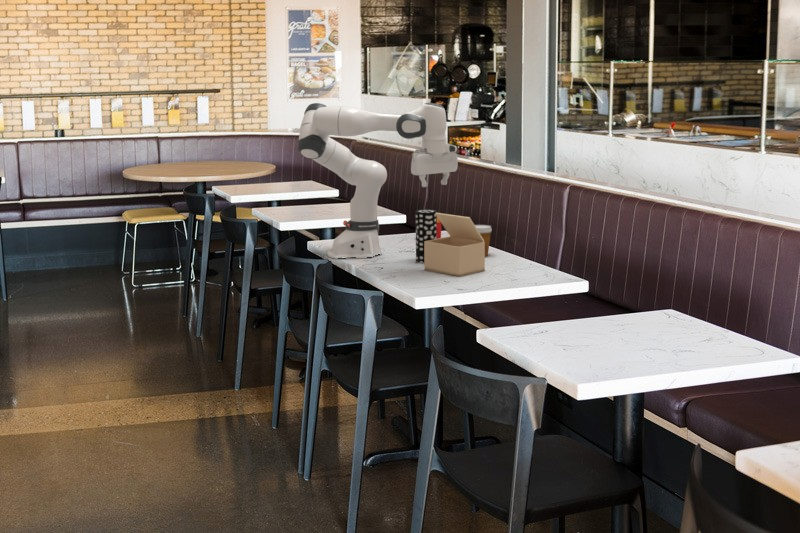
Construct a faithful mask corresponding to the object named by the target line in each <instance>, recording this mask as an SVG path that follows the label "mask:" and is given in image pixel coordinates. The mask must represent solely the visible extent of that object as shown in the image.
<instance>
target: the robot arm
mask: <svg viewBox="0 0 800 533" xmlns="http://www.w3.org/2000/svg"><path fill="white" fill-rule="evenodd" d="M446 130H447V114H446V110H445V108H444V106H443V105H441V104H439V103H433V102H426V103H424V104H423V105H421V106H419V107H417V108H416V109H414V110H412V111H411V110H410V111H408V112H405V113H403V114H398V113H397V114H394V113H392V114H390V113H378V112H374V111H368V110H365V109H362V108H358V107H352V106H346V105H345V106H343V105H341V106H340V105H332V106H331V105H329V106H328V105H326V104H323V103H320V102H316V103H315V102H314V103H310V104H309V105H307V107H306V108H305V111H304V115H303V118H302V121H301V124H300V129H299V135H298V141H297V152H298V153H299V154H300V155H301V156H302V157H303V158H306V159H308V160H313V161H314V162H316V163H317V164H319V165H321V166H323V167H325V168H327V169H328V170H329V171H331V172H333V173H335V174H336V175H337V176H338V177H339V178H341V179H342V180H343V181H345V183H347V184H349V185H351V186H355V191H354V195H353V197H352V198H351V200H350V203H349V206H350V207H349V208H350V209H349V210H350V211H349V212H350V215H349V216H350V218H349V220H343V222H342V224H343V226H344V227H345V230H344V231H342V232H341V233H339V235H338V236H337V237H335V238H334V239H333V241H332V245H331V246H332V248H331V250H328V251H327V252H326V255H327V257H328V258H331V259H336V260H339V259H338V258H342V257H356V258H355V259H368V258H367V257H372V258H374V257H376V256H375V255H378V254H380V255H382V254H381V253H383V252H382V248H381V244H380V239H379V231H380V222H379V219H378V200H379V195H380V192H381V188H382V186H384V185H385V183H386V181H387V178H388V172H387V169H386V167H385V166H384V165H383V164H381V163H380V162H378V161H376V160H370V159H364V158H361V157H358V156H356V155H355V154H354V153H353V152H351V150H350V149H349V148H348V147H347V146H345V145H343V144H342V143H340V142H339V141H336V140H335V139H333V138H331V137H330V136H335V137H336V136H337V137H355V136H361V135H365V134H368V133H372V132H379V131H385V132H397V134H398V135H399V136H400V137H402V138H404V139H407V140H412V139H417V138H421V140H422V141H421V142H422V143H421V149H420V148H419V149H415V150H414V151H413V152H412V155H411V156H412V157H411V163H410V173H411V174H412V175H413V176H418V178H419V180H420V182H421V187H422V188H428V184H429V183H428V181H426V178H427V177H426V176H427V175H434V174H442V175H443V177H442V179H440V185H442V186H446V185H447V184H448V180H449V177H450V173H451V172H452V173H453V172H455V173H456V172H457V170H458V167H459V166H458V165H459V164H458V163H459V162H458V161H459V160H458V154H457V151H458V146H456V145H454V144H450V143H449V142H447V137H446ZM373 256H374V257H373ZM378 256H379V255H378Z"/></svg>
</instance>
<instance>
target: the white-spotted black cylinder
mask: <svg viewBox="0 0 800 533" xmlns="http://www.w3.org/2000/svg"><path fill="white" fill-rule="evenodd" d="M436 213H438V211H437V210H435V209H417V210H415V262H416V263H419V264H424V241H428V240H434V239H437V215H436Z"/></svg>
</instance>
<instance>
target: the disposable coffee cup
mask: <svg viewBox="0 0 800 533" xmlns="http://www.w3.org/2000/svg"><path fill="white" fill-rule="evenodd" d="M474 225H475V227H476V228H477V230H478V231H479V233H480V235H481V236H482V238H483V239H484V242H485V258H486V257H488V255H489V248H490V243H491V242H490V241H491V234H492V230H493V229H492V225H489V224H488V225H487V224H474Z"/></svg>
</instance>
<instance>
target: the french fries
mask: <svg viewBox="0 0 800 533" xmlns="http://www.w3.org/2000/svg"><path fill="white" fill-rule="evenodd" d="M439 238H442V223H441V221H440V220H439V218H438V217H437V239H439Z"/></svg>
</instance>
